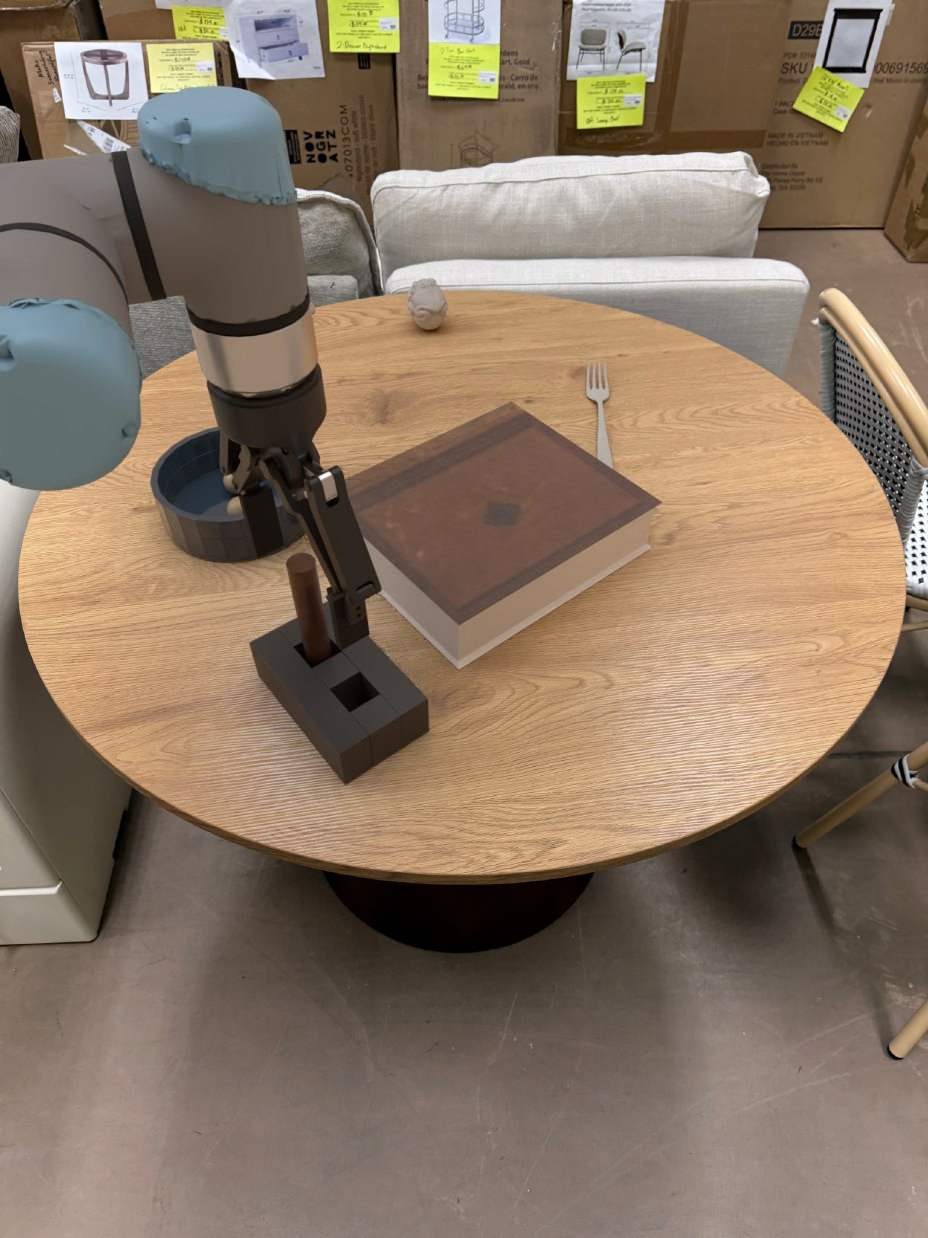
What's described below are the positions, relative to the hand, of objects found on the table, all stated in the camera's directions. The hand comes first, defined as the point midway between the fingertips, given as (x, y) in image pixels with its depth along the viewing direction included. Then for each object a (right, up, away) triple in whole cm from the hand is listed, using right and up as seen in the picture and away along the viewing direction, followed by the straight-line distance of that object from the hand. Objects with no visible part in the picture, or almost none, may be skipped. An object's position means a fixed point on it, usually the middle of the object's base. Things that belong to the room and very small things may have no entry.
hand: (309, 592), depth 69 cm
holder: (+2, -10, +8) cm, 13 cm away
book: (+16, +6, +23) cm, 28 cm away
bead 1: (-14, +14, +26) cm, 32 cm away
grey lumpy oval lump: (+8, +42, +55) cm, 70 cm away
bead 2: (-12, +10, +23) cm, 28 cm away
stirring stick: (0, -8, +9) cm, 12 cm away
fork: (+31, +24, +39) cm, 55 cm away
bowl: (-13, +11, +26) cm, 31 cm away
